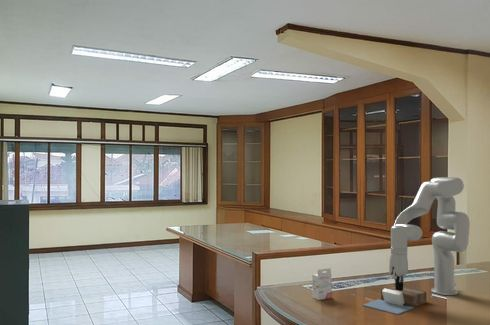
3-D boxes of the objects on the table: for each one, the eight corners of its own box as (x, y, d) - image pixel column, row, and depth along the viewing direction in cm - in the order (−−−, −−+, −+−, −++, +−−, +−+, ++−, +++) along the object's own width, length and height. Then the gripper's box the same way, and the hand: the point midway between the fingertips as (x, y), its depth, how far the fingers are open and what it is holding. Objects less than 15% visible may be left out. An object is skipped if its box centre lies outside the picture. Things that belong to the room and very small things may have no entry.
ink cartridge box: (325, 295, 223) (325, 266, 223) (332, 298, 219) (331, 268, 219) (312, 297, 219) (311, 268, 220) (318, 300, 215) (317, 269, 215)
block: (384, 288, 210) (381, 291, 209) (401, 291, 204) (399, 295, 202) (387, 298, 212) (384, 301, 210) (404, 302, 205) (402, 306, 203)
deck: (395, 295, 224) (395, 285, 224) (426, 301, 212) (426, 291, 212) (381, 300, 214) (380, 290, 215) (412, 307, 202) (411, 296, 203)
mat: (378, 300, 215) (378, 299, 215) (413, 308, 201) (413, 307, 201) (362, 305, 206) (362, 304, 206) (397, 314, 192) (397, 313, 192)
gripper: (399, 248, 219) (400, 286, 218) (383, 252, 209) (383, 291, 209) (414, 250, 213) (414, 288, 213) (398, 254, 204) (398, 294, 203)
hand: (399, 289), depth 211 cm, fingers closed
